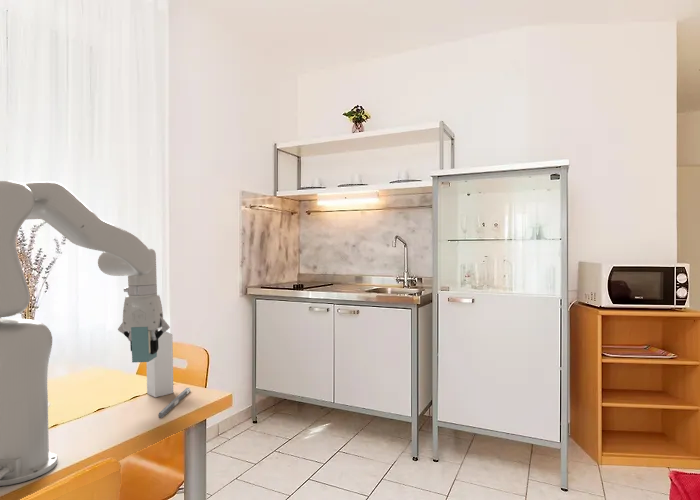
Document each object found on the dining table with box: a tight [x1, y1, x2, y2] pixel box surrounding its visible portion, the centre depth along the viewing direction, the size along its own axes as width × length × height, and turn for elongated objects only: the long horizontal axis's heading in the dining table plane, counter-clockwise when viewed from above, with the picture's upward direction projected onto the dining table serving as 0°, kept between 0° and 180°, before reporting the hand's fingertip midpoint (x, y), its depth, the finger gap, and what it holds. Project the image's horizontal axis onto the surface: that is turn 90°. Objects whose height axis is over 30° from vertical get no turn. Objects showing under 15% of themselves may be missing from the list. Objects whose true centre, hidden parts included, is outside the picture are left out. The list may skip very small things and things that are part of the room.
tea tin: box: [131, 327, 157, 363], centre depth 128 cm, size 6×5×10 cm
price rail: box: [158, 387, 191, 418], centre depth 131 cm, size 22×1×1 cm, turn 1°
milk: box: [146, 327, 174, 398], centre depth 141 cm, size 6×6×22 cm
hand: (144, 352), depth 128 cm, fingers closed on tea tin, 4 cm apart
